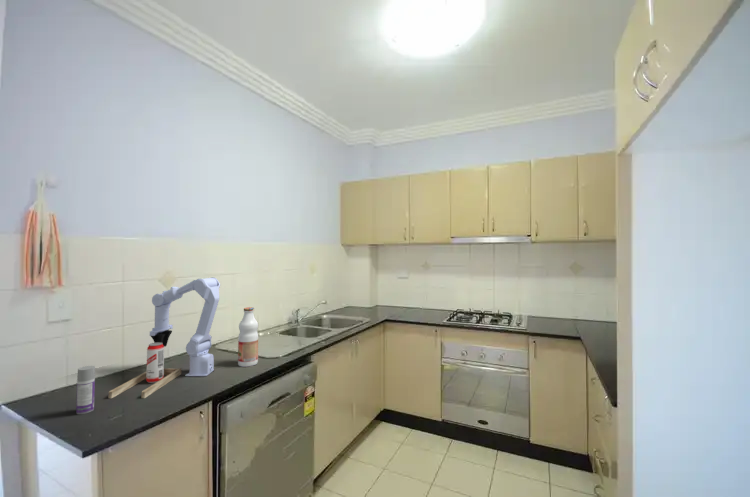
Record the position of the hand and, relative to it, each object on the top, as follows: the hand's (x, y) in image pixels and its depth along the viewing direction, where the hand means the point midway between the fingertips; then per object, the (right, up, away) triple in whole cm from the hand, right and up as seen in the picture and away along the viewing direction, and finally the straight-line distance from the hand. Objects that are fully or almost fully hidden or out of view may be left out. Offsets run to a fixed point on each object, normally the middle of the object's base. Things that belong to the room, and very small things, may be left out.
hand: (161, 347), depth 156 cm
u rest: (+7, -10, -19) cm, 22 cm away
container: (0, -10, -41) cm, 42 cm away
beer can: (+6, -11, -14) cm, 19 cm away
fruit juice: (+38, -11, +9) cm, 40 cm away
